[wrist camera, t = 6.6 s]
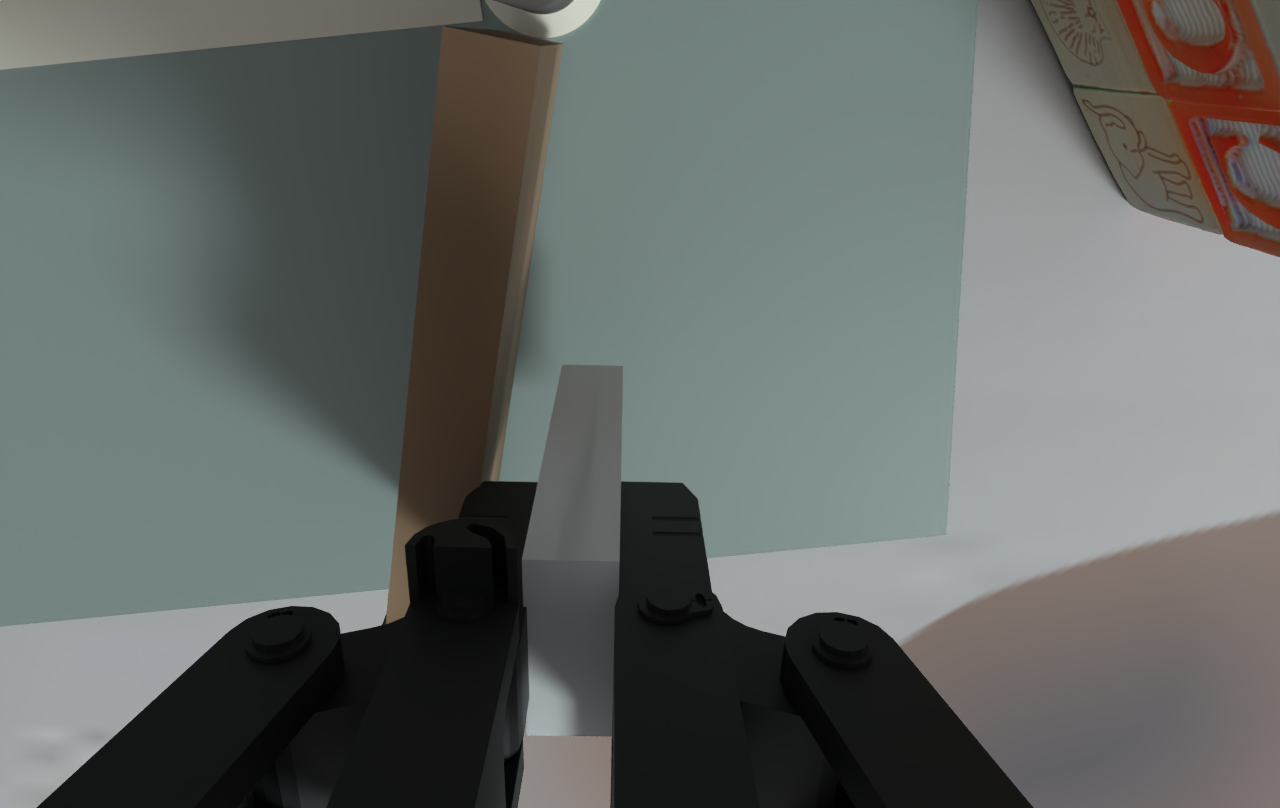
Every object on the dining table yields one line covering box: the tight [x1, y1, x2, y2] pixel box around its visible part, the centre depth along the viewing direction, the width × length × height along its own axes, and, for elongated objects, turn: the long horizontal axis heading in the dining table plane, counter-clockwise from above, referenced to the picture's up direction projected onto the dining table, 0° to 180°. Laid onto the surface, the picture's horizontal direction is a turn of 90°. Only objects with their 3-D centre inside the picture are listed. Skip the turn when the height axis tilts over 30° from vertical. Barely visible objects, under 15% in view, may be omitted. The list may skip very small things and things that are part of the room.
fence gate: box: [382, 26, 563, 625], centre depth 15 cm, size 1×11×6 cm, turn 169°
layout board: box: [0, 0, 978, 626], centre depth 16 cm, size 24×24×1 cm
